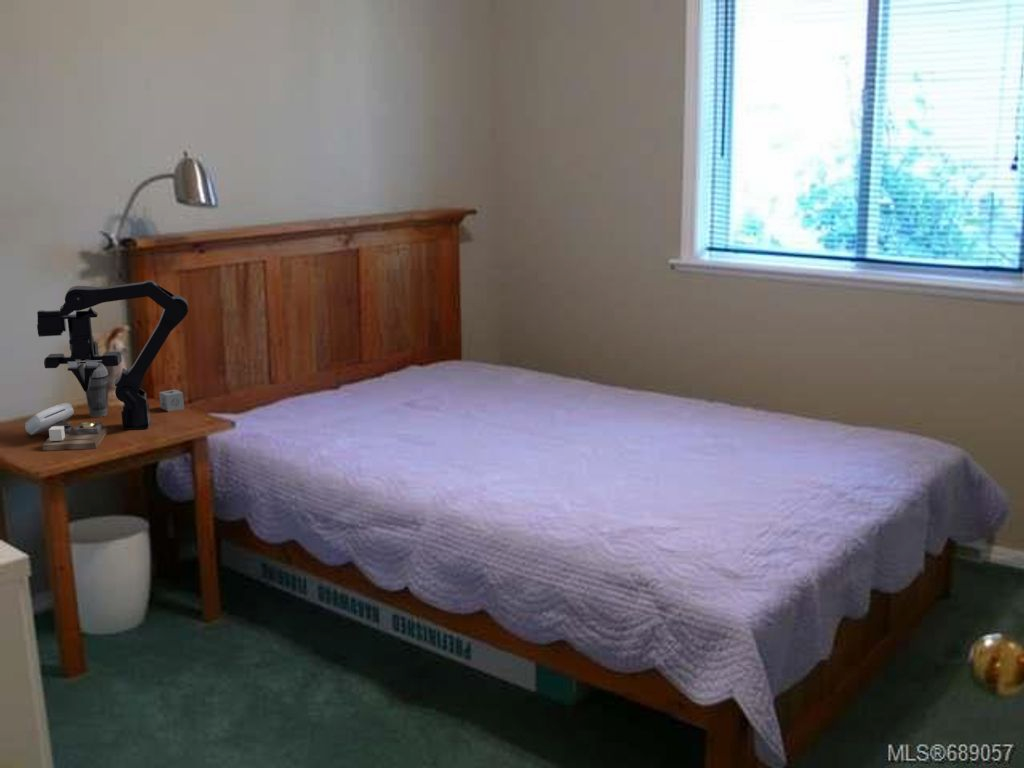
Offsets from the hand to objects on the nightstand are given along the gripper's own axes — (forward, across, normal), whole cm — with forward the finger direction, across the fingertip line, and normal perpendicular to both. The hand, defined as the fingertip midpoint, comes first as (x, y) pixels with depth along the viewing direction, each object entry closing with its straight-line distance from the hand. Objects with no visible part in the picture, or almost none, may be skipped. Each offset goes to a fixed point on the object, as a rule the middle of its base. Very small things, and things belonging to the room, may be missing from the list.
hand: (86, 391), depth 296 cm
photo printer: (+9, +12, -1) cm, 15 cm away
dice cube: (+11, -19, -19) cm, 29 cm away
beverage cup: (+11, +1, -15) cm, 19 cm away
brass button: (+9, -1, +6) cm, 11 cm away
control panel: (+11, +2, +10) cm, 15 cm away
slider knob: (+10, +5, +13) cm, 17 cm away
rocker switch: (+8, +5, +6) cm, 11 cm away
